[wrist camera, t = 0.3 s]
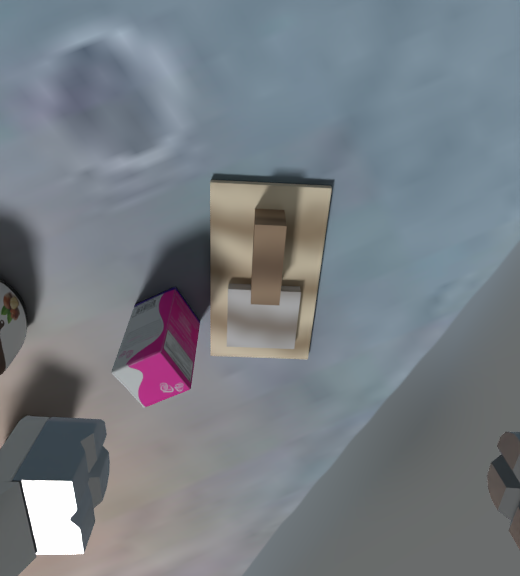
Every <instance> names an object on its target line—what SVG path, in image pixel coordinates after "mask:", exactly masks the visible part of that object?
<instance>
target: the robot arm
mask: <svg viewBox="0 0 520 576" xmlns="http://www.w3.org/2000/svg"><path fill="white" fill-rule="evenodd" d="M106 435H107V434H106V427H105V422H104V421H103V420H101V419H83V418H64V417H36V416H26V417H24V418H23V419H21V420H20V421H19V422H18V424H17V425H16V427H15V428H14V430H13V431H12V433H11V434H10V436H9V437H8V439H7V440H6V442H5V443H4V445H3V446H2V448H1V449H0V576H18V575H19V574H20V573H21V572H22V571H23V570H24V569H25V568H26V567H27V566H28V565H29V564H30V563H31V562H32V561H33V560H34V559H35V558H36V554H84V552H85V549H86V546H87V543H88V540H89V537H90V535H91V532H92V529H93V526H94V523H95V516H94V508H95V507H96V506H97V505H98V504H99V503H101V502H102V500H103V497H104V494H105V491H106V488H107V482H108V477H109V464H110V461H109V452H108V451H107V450H106V449H105V448H104V447H103V443H104V441H105V438H106ZM497 447H498V449H499V451H500V453H501V455H500V456H499V457H497V458H496V459H495V460H494V461H492V462H491V465H490V468H489V471H488V475H487V476H488V489H489V493H490V496H491V499H492V501H493V503H494V505H495V506H496V508H497V510H498V511H499V512H500V513H502V514H503V515H504V516H506V517H507V518H508V519H510V520H511V522H510V527H509V532H510V533H511V535H512V537H513V539H514V540H515V542H516V544H517V546H518V548H519V549H520V432H505V433H504V434H503V435H502V436H501V437H500V440H499V442H498V445H497Z"/></svg>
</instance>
